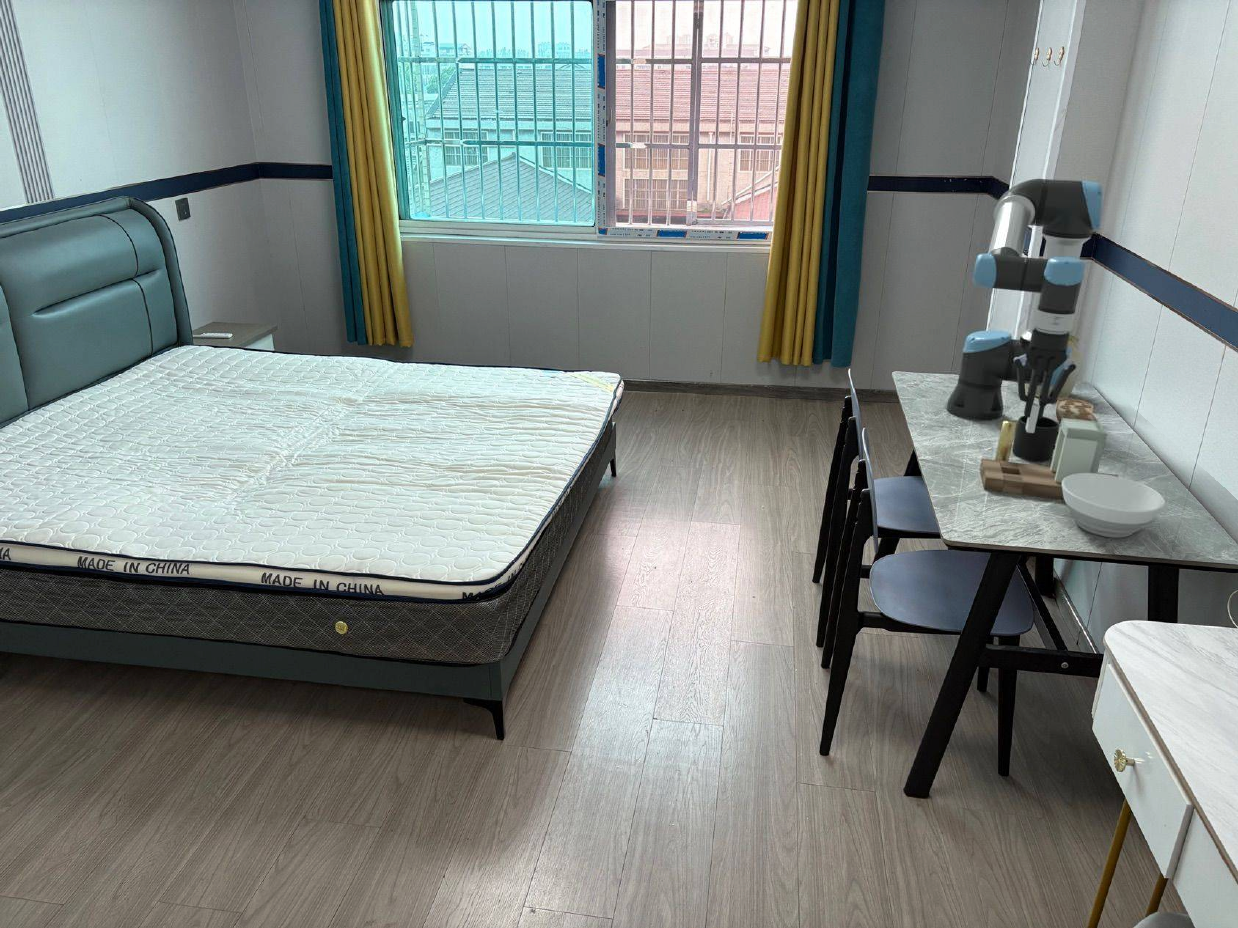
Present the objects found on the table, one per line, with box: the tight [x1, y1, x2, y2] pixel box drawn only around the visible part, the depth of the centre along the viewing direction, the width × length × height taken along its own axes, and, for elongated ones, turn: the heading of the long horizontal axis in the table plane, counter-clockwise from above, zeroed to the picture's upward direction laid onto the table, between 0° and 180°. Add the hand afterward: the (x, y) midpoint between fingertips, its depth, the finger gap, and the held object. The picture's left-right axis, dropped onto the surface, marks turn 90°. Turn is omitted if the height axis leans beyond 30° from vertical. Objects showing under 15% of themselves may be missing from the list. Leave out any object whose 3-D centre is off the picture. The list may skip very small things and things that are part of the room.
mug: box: [1011, 415, 1060, 462], centre depth 226 cm, size 9×12×9 cm
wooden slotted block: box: [979, 458, 1120, 501], centre depth 207 cm, size 12×30×12 cm, turn 74°
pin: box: [994, 419, 1017, 462], centre depth 217 cm, size 3×3×12 cm
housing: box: [1050, 418, 1108, 482], centre depth 205 cm, size 8×8×13 cm
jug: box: [1025, 320, 1083, 401], centre depth 270 cm, size 15×16×25 cm
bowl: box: [1062, 472, 1166, 539], centre depth 190 cm, size 20×20×8 cm
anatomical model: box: [1055, 398, 1099, 425], centre depth 247 cm, size 23×10×5 cm, turn 159°
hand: (1029, 430), depth 206 cm, fingers closed
